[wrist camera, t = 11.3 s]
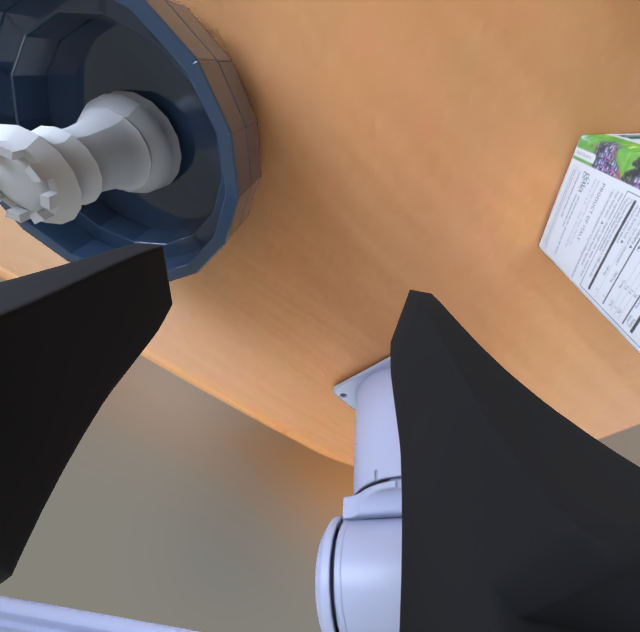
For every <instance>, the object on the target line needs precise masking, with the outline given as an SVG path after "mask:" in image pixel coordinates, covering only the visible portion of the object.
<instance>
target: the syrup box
mask: <svg viewBox="0 0 640 632" xmlns="http://www.w3.org/2000/svg"><path fill="white" fill-rule="evenodd" d="M539 248H540V249H541V250H542V251H543V252H544V253H545V254H546V255H547V256H548V257H549V258H550V259H551V260H552V261H553V262H554V263H555V264H556V265H557V267H558V268H559V269H560V270H561V271H562V272H563V273H564V274H565V275H566V276H567V277H568V278H569V279H570V280H571V281H572V283H573V284H574V285H575V286H576V287H577V288H578V289H579V290H580V291H581V292H582V293H583V294H584V295H585V296H586V297H587V298H588V299H589V300H590V301H591V303H592V304H593V305H594V306H595V307H596V308H597V309H598V310H599V311H600V312H601V314H602V315H603V316H604V317H605V318H606V319H607V320H608V321H609V322H610V323H611V324H612V325H613V326H614V327H615V328H616V329H617V330H618V331H619V332H620V333H621V334H622V335H623V336H624V337H625V338H626V340H627V341H628V342H629V343H630V344H631V345H632V346H633V347H634V348H635V349H636V350H637V351H638V352H639V353H640V133H634V134H585V135H583V136H582V137H581V138H580V139H579V141H578V144H577V147H576V149H575V152H574V154H573V157H572V159H571V162H570V165H569V167H568V170H567V172H566V175H565V178H564V180H563V183H562V185H561V188H560V190H559V193H558V196H557V198H556V201H555V204H554V206H553V209H552V211H551V214H550V217H549V220H548V222H547V225H546V228H545V230H544V233H543V236H542V238H541V241H540V244H539Z"/></svg>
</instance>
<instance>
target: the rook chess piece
mask: <svg viewBox="0 0 640 632" xmlns="http://www.w3.org/2000/svg"><path fill="white" fill-rule="evenodd" d="M181 157H182V156H181V151H180V146H179V140H178V137H177V135H176V133H175V131H174V129H173V127H172V125H171V123H170V121H169V120H168V118H167V117H166V116H165V115H164V114H163V113H162V112H161V111H160V110H159V109H158V108H157V107H156V105H155V104H154V103H153V102H151V101H150V100H148V99H146V98H144V97H142V96H140V95H138V94H136V93H134V92H127V91H113V92H112V93H110V94H102V95H100V96H98V97H97V98H95V99H93V100H91V101H89V102H88V103H87V104H86V105H85V107H84V109H83V111H82V113H81V115H80V117H79V119H78V120H77V122H76V123H75V124H73V125H71V126H69V127H67V128H63V129H60V128H58V127H53V126H39V127H38V128H36V129H34V130H32V131H29V130H27V129H25V128H23V127H21V126H19V125H7V124H0V202H1V201H3V202H4V203H6V204H7V205H9V206H10V207H11V208H10V209H7V210H6V217H8V218H11V219H13V220H15V221H18V222H20V223H22V222H24V221H26V220H29V219H31V220H32V221H33V223H34V224H36V223H39V222H41V221H42V222H45V223H54V224H64V223H66V222H69V221H71V220H74V219H75V217H76V216H77V214H78V213H79V211H80V209H81V205H87V204H89V203H92V202H94V201H96V200H97V198H98V197H99V195H100V193H101V192H103V191H107V190H112V189H118V190H125V191H127V192H134V193H149V192H152V191H154V190H157V189H160V188H162V187H165V186H167V185H170V184H171V182H172V181H173V180H174V178H175V177H176V176H177V174H178V173H179V168H180V163H181Z"/></svg>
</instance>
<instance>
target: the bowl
mask: <svg viewBox="0 0 640 632" xmlns="http://www.w3.org/2000/svg"><path fill="white" fill-rule="evenodd" d="M113 91H127V92H134V93H136V94H138V95H140V96H142V97H144V98H146V99H148V100H150V101H151V102H153V103H154V104H155V105H156V107H157V108H158V109H159V110H160V111H161V112H162V113H163V114H164V115H165V116H166V117H167V118H168V120H169V121H170V123H171V125H172V127H173V129H174V131H175V133H176V135H177V137H178V140H179V146H180V151H181V156H182V157H181V163H180V168H179V173H178V174H177V176H176V177H175V178H174V180H173V181H172V182H171V184H170V185H167V186H165V187H162V188H160V189H157V190H154V191H152V192H149V193H134V192H127V191H125V190H118V189H112V190H107V191H103V192H101V193H100V195H99V197H98V198H97V200H96V201H94V202H92V203H89V204H87V205H81V209H80V211H79V213H78V214H77V216H76V217H75V219H74V220H71V221H69V222H66V223H64V224H54V223H45V222H42V221H41V222H39V223H36V224H34V223H33V221H32V220H31V219H29V220H26V221H24V222H22V223H20V222H18V221H16V222H17V223H18V224H19V226H20V227H22V229H24V230H25V231H26V232H28V233H29V234H31V235H32V236H33V237H35V238H36V239H38V240H39V241H40V242H42V243H43V244H45V245H46V246H47V247H49V248H50V249H52V250H53V251H54V252H56V253H57V254H59V255H60V256H61V257H63V258H64V259H66V260H67V261H70V262H74V261H78V260H81V259H84V258H87V257H90V256H94V255H97V254H100V253H103V252H107V251H110V250H113V249H117V248H120V247H124V246H128V245H132V244H137V243H147V244H153V245H158V246H163V251H164V257H165V263H166V269H167V275H168V281H173V280H176V279H179V278H182V277H185V276H188V275H192V274H195V273H197V272H199V271H200V270H201V269H202V268H203V267H204V266H205V265H206V264H207V263H208V262H209V261H210V260H211V259H212V257H213V256H214V255H215V254H216V253H217V252H218V251H219V250H220V249H221V248H222V247H223V246H224V245H225V244H226V243H227V242H228V240H229V239H230V238H231V237H232V235H233V234H234V233H235V232H236V230H237V229H238V228H239V226H240V225H241V224H242V223H243V221H244V220H245V219H246V218H247V216H248V215H249V212H250V209H251V206H252V202H253V199H254V196H255V193H256V190H257V187H258V184H259V181H260V178H261V162H260V148H259V134H258V122H257V119H256V117H255V114H254V112H253V109H252V107H251V105H250V102H249V100H248V97H247V95H246V93H245V90H244V88H243V85H242V83H241V81H240V78H239V76H238V73H237V71H236V68H235V66H234V64H233V63H232V60H231V59H230V57H229V56H228V55H227V54H226V53H225V51H224V50H223V49H222V48H221V47H220V46H219V44H218V43H217V42H216V41H215V40H214V38H213V37H212V36H211V35H210V34H209V33H208V31H207V30H206V29H205V28H204V27H203V25H202V24H201V23H200V22H199V21H198V20H197V18H196V17H195V16H194V15H193V14H192V12H191V11H190V10H189V9H188V8H187V7H186V6H184V5H183V4H181V3H179V2H177V1H175V0H0V124H7V125H19V126H21V127H23V128H25V129H27V130H29V131H32V130H34V129H36V128H38V127H39V126H53V127H58V128H60V129H63V128H67V127H69V126H71V125H73V124H75V123H76V122H77V120H78V119H79V117H80V115H81V113H82V111H83V109H84V107H85V105H86V104H87V103H88V102H89V101H91V100H93V99H95V98H97V97H98V96H100V95H102V94H110V93H112V92H113ZM0 205H1V206H2V207H3V208H4V209H5V210H7V209H10V208H11V207H10V206H9V205H7V204H6V203H4V202H3V201H1V202H0Z"/></svg>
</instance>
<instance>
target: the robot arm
mask: <svg viewBox="0 0 640 632" xmlns="http://www.w3.org/2000/svg"><path fill="white" fill-rule="evenodd" d="M171 306H172V299H171V293H170V287H169V281H168V275H167V269H166V263H165V257H164V251H163V246H158V245H153V244H147V243H137V244H132V245H128V246H124V247H120V248H117V249H113V250H110V251H107V252H103V253H100V254H97V255H94V256H90V257H87V258H84V259H81V260H78V261H74V262H71V263H68V264H65V265H61V266H58V267H54V268H51V269H47V270H44V271H40V272H36V273H33V274H29V275H26V276H22V277H19V278H15V279H11V280H7V281H3V282H0V583H2V582H4V581H5V580H6V579H8V578H9V577H10V576H12V574H13V571H14V569H15V567H16V565H17V562H18V560H19V558H20V556H21V554H22V551H23V549H24V547H25V545H26V543H27V541H28V539H29V537H30V535H31V533H32V531H33V529H34V527H35V524H36V522H37V520H38V518H39V516H40V514H41V512H42V510H43V508H44V506H45V504H46V502H47V500H48V498H49V496H50V495H51V492H52V491H53V489H54V487H55V485H56V483H57V481H58V479H59V477H60V475H61V474H62V472H63V470H64V468H65V466H66V464H67V462H68V461H69V459H70V457H71V456H72V454H73V452H74V451H75V449H76V447H77V445H78V443H79V441H80V440H81V438H82V436H83V435H84V433H85V432H86V430H87V428H88V427H89V425H90V423H91V422H92V420H93V418H94V417H95V415H96V414H97V412H98V410H99V409H100V407H101V405H102V404H103V402H104V401H105V399H106V398H107V397H108V395H109V394H110V392H111V391H112V390H113V388H114V387H115V386H116V384H117V383H118V382H119V381H120V379H121V378H122V377H123V375H124V374H125V373H126V372H127V370H128V369H129V368H130V366H131V365H132V364H133V363H134V361H135V360H136V359H137V357H138V356H139V355H140V354H141V352H142V351H143V350H144V348H145V347H146V346H147V345H148V343H149V342H150V341H151V339H152V338H153V337H154V335H155V334H156V332H157V331H158V330H159V328H160V326H161V324H162V323H163V321H164V319H165V317H166V315H167V313H168V311H169V310H170V308H171ZM333 392H334V394H335V395H337V396H338V397H339V398H340V399H342V400H343V401H344V402H345V403H347V404H348V405H349V406H350V407H351V408H353V409H354V410H355V411H356V417H355V455H354V493H353V494H354V495H353V496H350V497H345V498H344V501H343V516H337V517H334V518H333V519H332V520H331V521H330V523H329V525H328V527H327V529H326V531H325V533H324V534H323V537H322V539H321V542H320V545H319V550H318V555H317V562H316V574H315V591H316V592H315V594H316V606H317V613H318V619H319V623H320V627H321V630H322V632H640V467H638V466H637V465H635V464H634V463H632V462H630V461H629V460H627V459H626V458H624V457H622V456H621V455H619V454H618V453H616V452H614V451H613V450H612V449H610V448H608V447H607V446H605V445H604V444H602V443H601V442H599V441H598V440H596V439H595V438H593V437H592V436H590V435H589V434H588V433H586V432H585V431H583V430H582V429H581V428H579V427H578V426H576V425H575V424H574V423H572V422H571V421H569V420H568V419H567V418H565V417H564V416H562V415H561V414H560V413H558V412H557V411H555V410H554V409H553V408H552V407H550V406H549V405H548V404H546V403H545V402H544V401H542V400H541V399H540V398H539V397H537V396H536V395H535V394H534V393H532V392H531V391H530V390H529V389H528V388H526V387H525V386H524V385H523V384H521V383H520V382H519V381H518V380H517V379H515V378H514V377H513V376H512V375H511V374H510V373H509V372H507V371H506V370H505V369H504V368H503V367H502V366H501V365H500V364H499V363H498V362H497V361H496V360H495V359H494V358H493V357H491V356H490V355H489V354H488V353H487V352H486V351H485V350H484V349H483V348H482V347H481V346H480V345H479V344H478V343H477V342H476V341H475V340H474V339H473V338H472V337H471V336H470V334H469V333H468V332H467V331H466V330H465V329H464V328H463V327H462V326H461V325H460V324H459V323H458V322H457V320H456V319H455V318H454V317H453V316H452V315H451V314H450V313H449V312H448V311H447V309H446V308H445V307H444V306H443V305H442V304H441V303H440V302H439V301H438V300H437V299H436V298H435V297H434V296H433V295H432V294H431V293H425V292H419V291H414V290H410V291H409V294H408V297H407V299H406V302H405V305H404V308H403V310H402V313H401V316H400V319H399V321H398V324H397V327H396V330H395V332H394V335H393V338H392V341H391V356H390V357H388V358H386V359H384V360H382V361H381V362H379V363H377V364H375V365H373V366H371V367H369V368H368V369H366V370H364V371H362V372H360V373H358V374H356V375H354V376H353V377H351V378H349V379H347V380H345V381H343V382H341V383H339V384H338V385H336V386H334V390H333ZM342 393H345V394H342ZM0 632H199V631H194V630H188V629H183V628H177V627H172V626H166V625H160V624H155V623H149V622H144V621H138V620H133V619H127V618H122V617H115V616H111V615H105V614H99V613H94V612H88V611H83V610H77V609H72V608H66V607H61V606H55V605H49V604H44V603H38V602H33V601H27V600H22V599H16V598H11V597H5V596H0Z"/></svg>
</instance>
